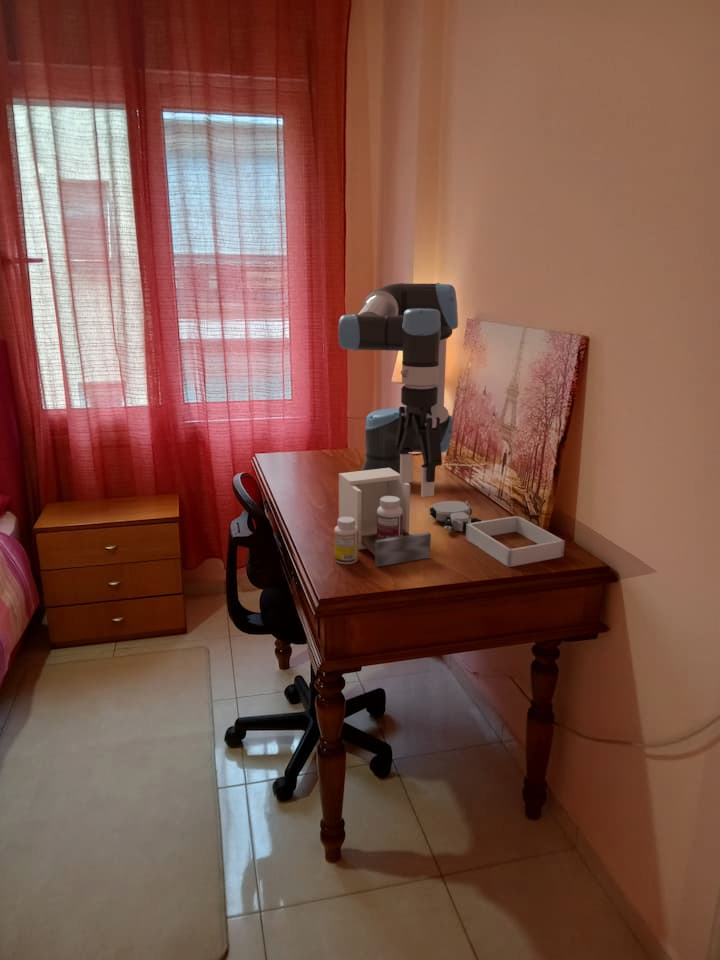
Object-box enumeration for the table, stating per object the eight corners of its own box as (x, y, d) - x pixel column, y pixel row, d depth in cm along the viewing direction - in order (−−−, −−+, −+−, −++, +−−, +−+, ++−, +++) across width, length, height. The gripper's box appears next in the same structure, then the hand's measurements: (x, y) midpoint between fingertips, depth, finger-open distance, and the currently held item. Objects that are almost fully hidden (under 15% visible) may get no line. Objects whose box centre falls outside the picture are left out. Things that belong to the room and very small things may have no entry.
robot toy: (487, 535, 177) (464, 512, 191) (489, 520, 176) (466, 497, 189) (443, 540, 174) (423, 516, 188) (444, 524, 173) (424, 501, 186)
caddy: (388, 525, 181) (389, 467, 176) (408, 541, 171) (410, 480, 166) (339, 532, 176) (338, 473, 171) (357, 550, 165) (357, 487, 161)
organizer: (516, 530, 179) (517, 515, 177) (563, 556, 162) (564, 541, 161) (465, 538, 173) (466, 523, 171) (508, 567, 156) (509, 550, 155)
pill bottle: (387, 535, 168) (388, 492, 165) (407, 541, 164) (408, 498, 161) (371, 542, 164) (371, 499, 161) (391, 549, 160) (392, 504, 157)
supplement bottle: (345, 553, 163) (345, 513, 160) (363, 559, 160) (363, 518, 157) (329, 560, 159) (329, 519, 156) (347, 567, 156) (347, 525, 153)
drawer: (407, 539, 171) (407, 517, 169) (429, 557, 160) (430, 533, 159) (357, 547, 166) (357, 524, 164) (377, 566, 155) (377, 542, 154)
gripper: (380, 378, 149) (379, 476, 156) (429, 395, 130) (425, 506, 137) (411, 377, 152) (408, 473, 159) (463, 393, 133) (457, 502, 140)
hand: (416, 488), depth 148 cm, fingers open, 9 cm apart
